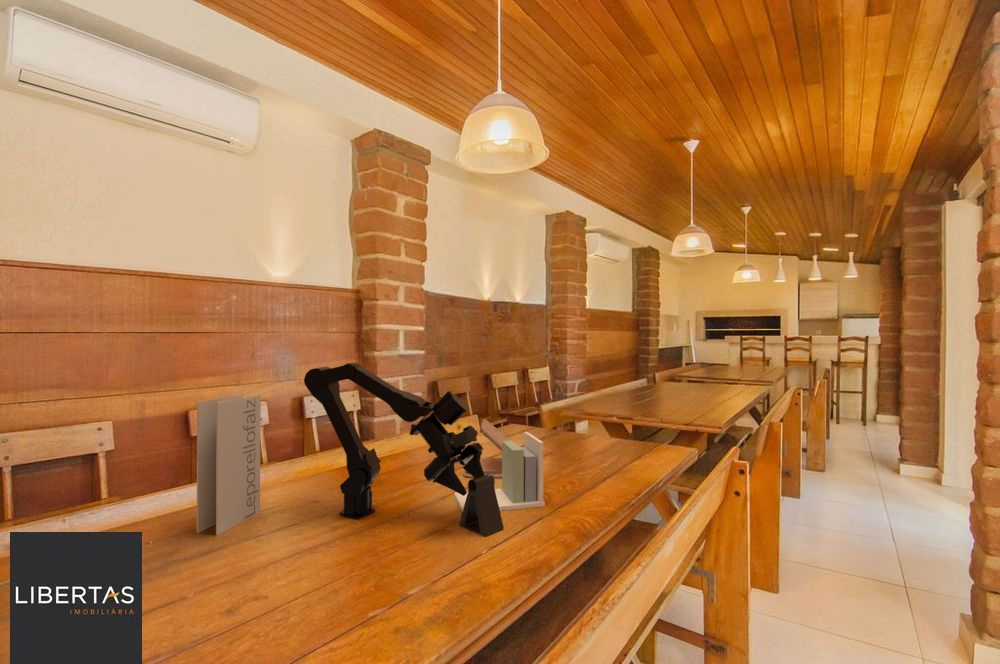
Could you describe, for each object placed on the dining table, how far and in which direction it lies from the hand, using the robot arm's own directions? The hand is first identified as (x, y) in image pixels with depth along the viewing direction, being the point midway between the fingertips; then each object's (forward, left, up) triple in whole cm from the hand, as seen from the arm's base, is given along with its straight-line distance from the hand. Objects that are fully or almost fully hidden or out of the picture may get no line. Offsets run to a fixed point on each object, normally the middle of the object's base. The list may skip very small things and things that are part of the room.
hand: (475, 488), depth 116 cm
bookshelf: (+18, +4, -9) cm, 20 cm away
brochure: (-29, +52, -9) cm, 60 cm away
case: (+43, +20, -9) cm, 49 cm away
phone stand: (0, -2, -9) cm, 9 cm away
